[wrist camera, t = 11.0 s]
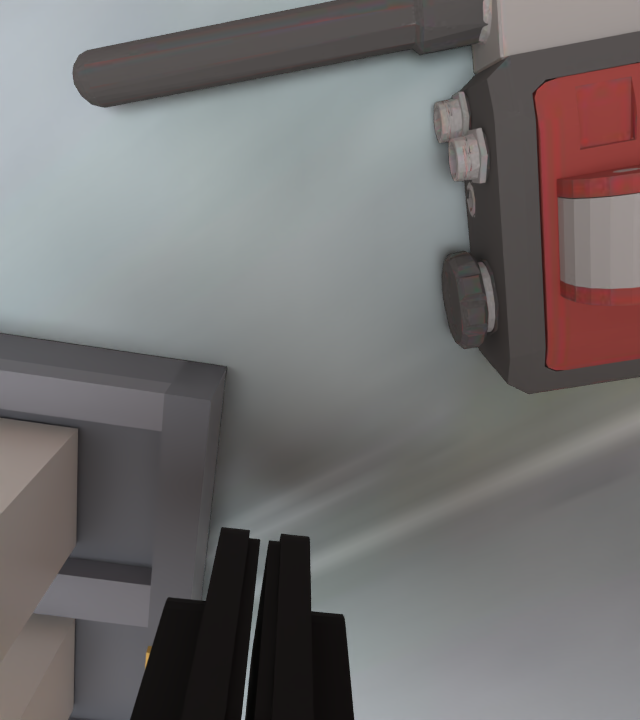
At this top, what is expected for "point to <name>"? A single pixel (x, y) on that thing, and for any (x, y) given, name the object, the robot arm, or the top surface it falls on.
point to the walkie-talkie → (479, 156)
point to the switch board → (122, 497)
